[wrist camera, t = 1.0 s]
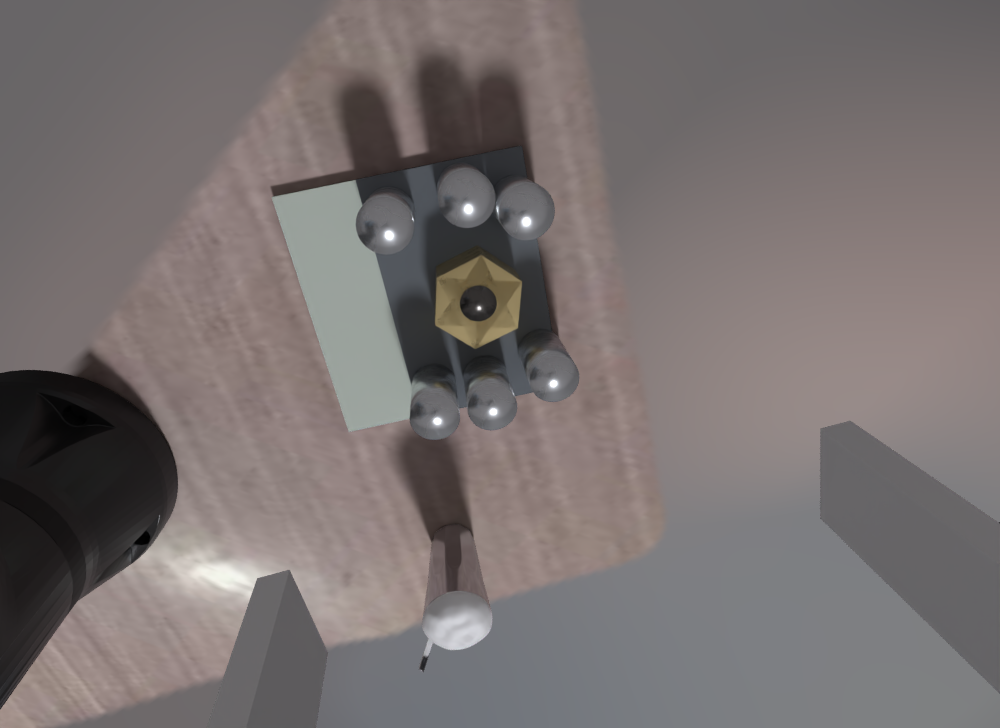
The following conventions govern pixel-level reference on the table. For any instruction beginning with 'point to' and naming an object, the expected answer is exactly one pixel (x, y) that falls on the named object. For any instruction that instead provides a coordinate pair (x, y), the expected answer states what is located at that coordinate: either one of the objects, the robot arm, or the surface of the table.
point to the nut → (477, 297)
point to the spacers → (485, 377)
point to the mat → (400, 287)
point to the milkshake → (454, 593)
